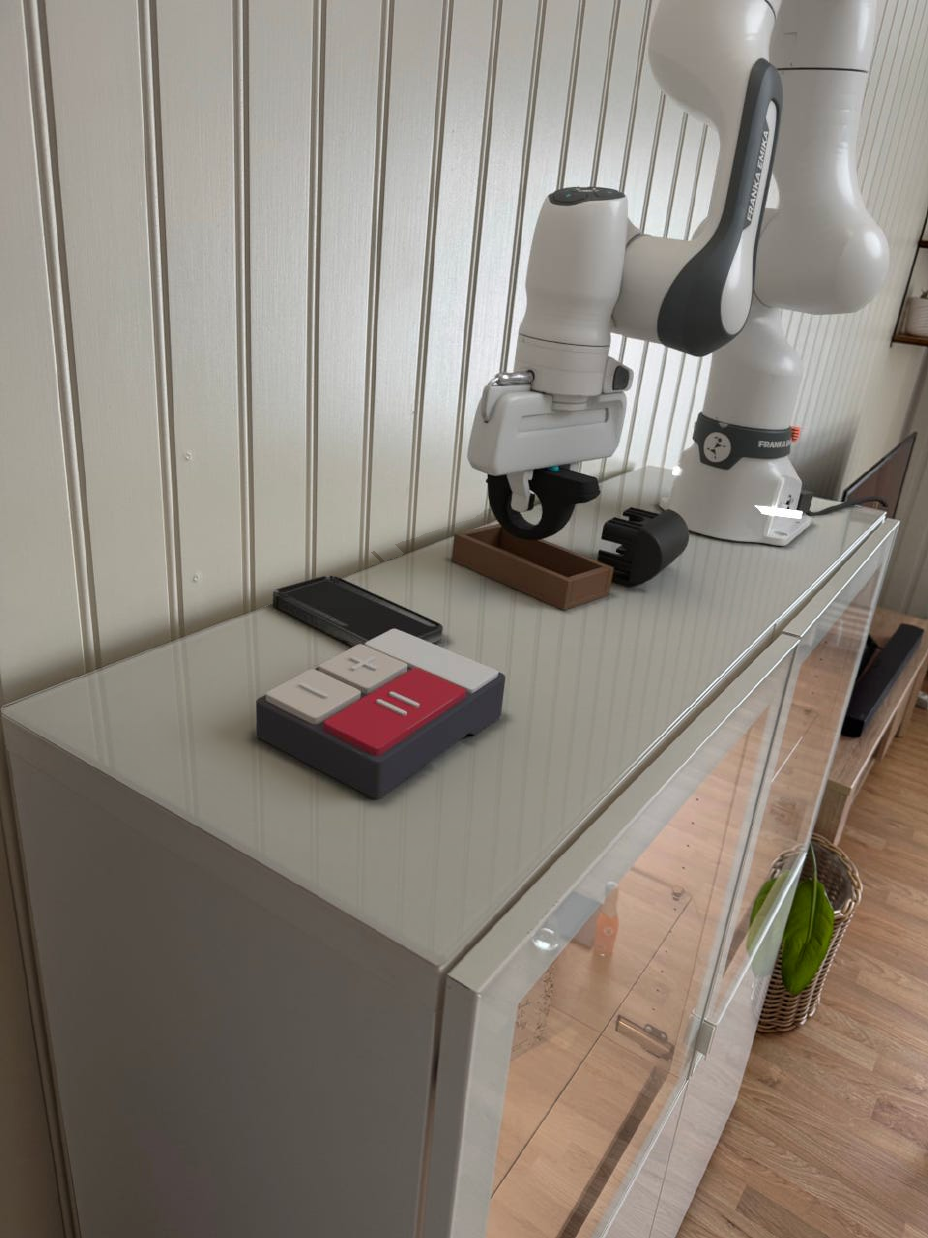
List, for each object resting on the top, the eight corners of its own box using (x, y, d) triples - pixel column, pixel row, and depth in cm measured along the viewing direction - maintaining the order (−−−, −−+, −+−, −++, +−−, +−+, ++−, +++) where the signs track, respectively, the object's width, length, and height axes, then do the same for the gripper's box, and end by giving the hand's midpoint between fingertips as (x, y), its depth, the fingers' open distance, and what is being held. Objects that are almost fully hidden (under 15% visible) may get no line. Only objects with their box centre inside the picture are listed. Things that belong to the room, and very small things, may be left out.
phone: (331, 573, 90) (448, 626, 81) (330, 584, 90) (446, 638, 82) (266, 591, 84) (385, 650, 76) (266, 603, 84) (384, 663, 76)
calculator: (252, 690, 62) (393, 618, 74) (253, 743, 64) (390, 666, 76) (378, 753, 57) (509, 665, 68) (375, 809, 59) (503, 715, 70)
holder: (497, 548, 106) (501, 522, 105) (608, 595, 96) (614, 567, 95) (451, 560, 100) (454, 533, 99) (563, 610, 91) (568, 581, 90)
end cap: (654, 596, 98) (667, 535, 95) (592, 578, 100) (603, 518, 98) (682, 571, 106) (695, 514, 103) (623, 555, 109) (634, 499, 106)
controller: (493, 519, 101) (506, 429, 97) (594, 551, 95) (611, 456, 91) (471, 527, 98) (483, 433, 94) (574, 561, 92) (592, 462, 88)
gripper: (513, 380, 81) (493, 530, 86) (644, 372, 95) (619, 502, 100) (461, 366, 84) (445, 511, 90) (594, 360, 99) (573, 486, 104)
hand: (538, 506), depth 95 cm, fingers closed on controller, 4 cm apart
